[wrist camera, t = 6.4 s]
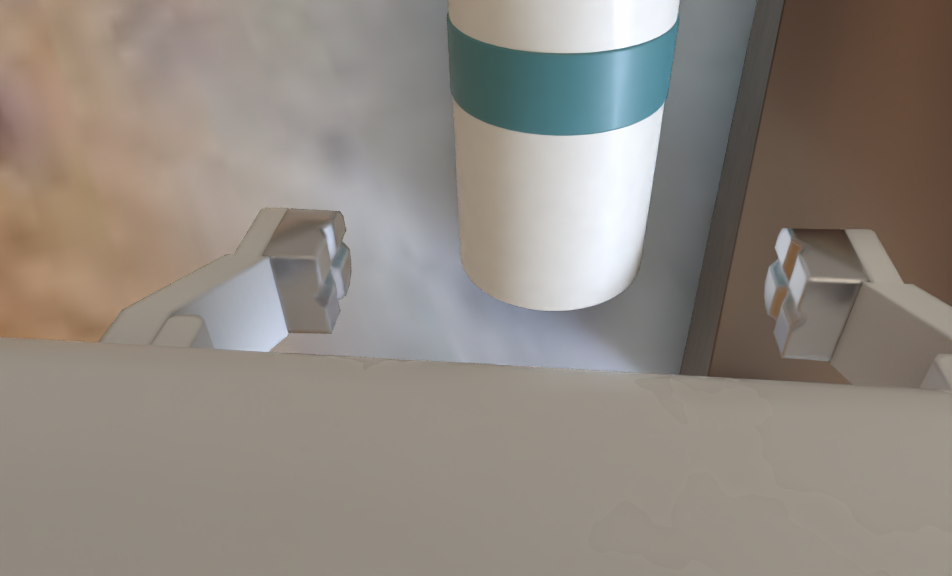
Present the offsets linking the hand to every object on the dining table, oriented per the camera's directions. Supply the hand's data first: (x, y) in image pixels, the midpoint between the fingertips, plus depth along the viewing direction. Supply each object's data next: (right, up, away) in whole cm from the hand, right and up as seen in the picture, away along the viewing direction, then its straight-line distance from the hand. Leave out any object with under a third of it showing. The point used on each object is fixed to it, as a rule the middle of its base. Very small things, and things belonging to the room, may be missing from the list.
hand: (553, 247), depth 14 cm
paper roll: (+1, +5, +11) cm, 12 cm away
